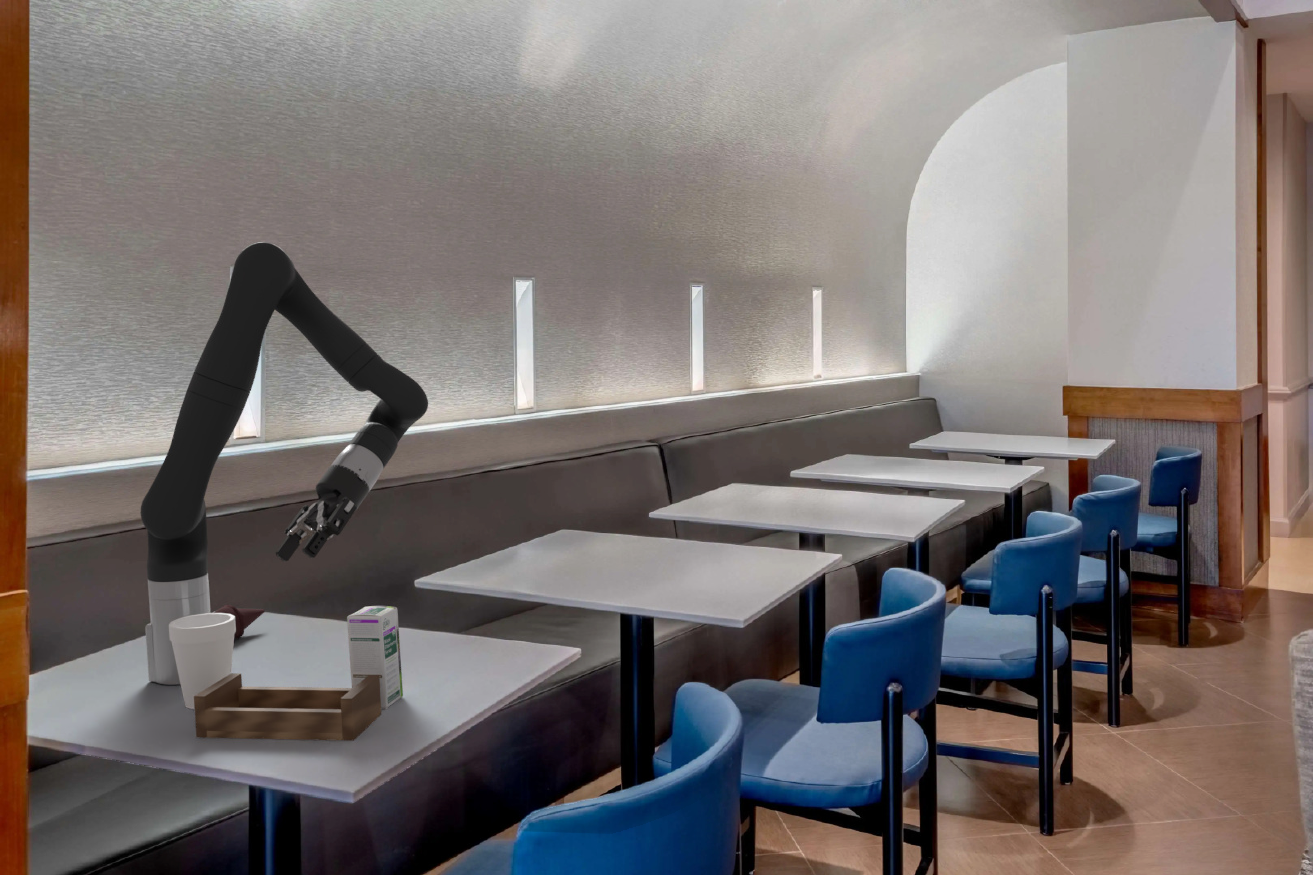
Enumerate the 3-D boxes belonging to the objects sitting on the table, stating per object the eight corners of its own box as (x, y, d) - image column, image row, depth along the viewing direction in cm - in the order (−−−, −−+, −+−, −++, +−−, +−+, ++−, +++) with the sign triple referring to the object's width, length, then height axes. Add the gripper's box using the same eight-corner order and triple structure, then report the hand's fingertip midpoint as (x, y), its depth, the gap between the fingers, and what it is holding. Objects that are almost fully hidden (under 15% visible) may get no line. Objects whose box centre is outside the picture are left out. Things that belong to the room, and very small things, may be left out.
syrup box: (387, 709, 161) (382, 615, 159) (351, 707, 162) (346, 614, 161) (403, 697, 166) (399, 605, 165) (368, 695, 167) (363, 604, 166)
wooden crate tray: (196, 737, 151) (193, 696, 150) (233, 711, 161) (231, 673, 161) (353, 740, 148) (351, 698, 148) (381, 714, 159) (379, 675, 158)
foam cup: (195, 716, 160) (190, 631, 158) (162, 705, 165) (156, 623, 164) (252, 698, 167) (247, 617, 166) (218, 688, 173) (213, 610, 171)
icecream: (248, 595, 210) (178, 619, 198) (270, 590, 206) (200, 614, 194) (258, 629, 210) (189, 655, 198) (280, 625, 206) (211, 651, 194)
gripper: (312, 468, 179) (254, 545, 170) (357, 457, 169) (298, 538, 160) (344, 497, 182) (289, 573, 173) (390, 488, 173) (334, 568, 164)
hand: (293, 556), depth 167 cm, fingers open, 8 cm apart
